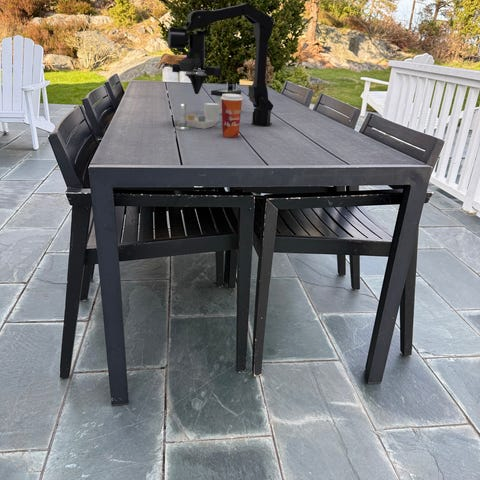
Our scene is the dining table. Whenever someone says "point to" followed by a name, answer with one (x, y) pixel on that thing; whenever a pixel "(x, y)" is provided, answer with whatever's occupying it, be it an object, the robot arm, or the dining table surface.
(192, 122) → the panel
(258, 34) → the robot arm
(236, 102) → the paper cup
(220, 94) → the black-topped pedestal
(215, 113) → the grey cylinder
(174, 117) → the dining table surface
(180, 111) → the post
